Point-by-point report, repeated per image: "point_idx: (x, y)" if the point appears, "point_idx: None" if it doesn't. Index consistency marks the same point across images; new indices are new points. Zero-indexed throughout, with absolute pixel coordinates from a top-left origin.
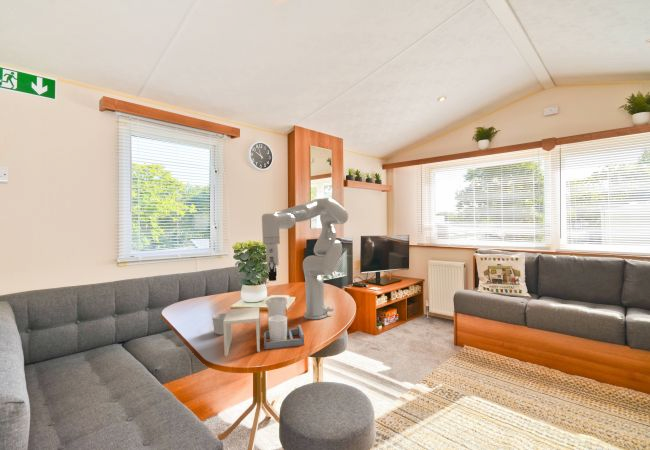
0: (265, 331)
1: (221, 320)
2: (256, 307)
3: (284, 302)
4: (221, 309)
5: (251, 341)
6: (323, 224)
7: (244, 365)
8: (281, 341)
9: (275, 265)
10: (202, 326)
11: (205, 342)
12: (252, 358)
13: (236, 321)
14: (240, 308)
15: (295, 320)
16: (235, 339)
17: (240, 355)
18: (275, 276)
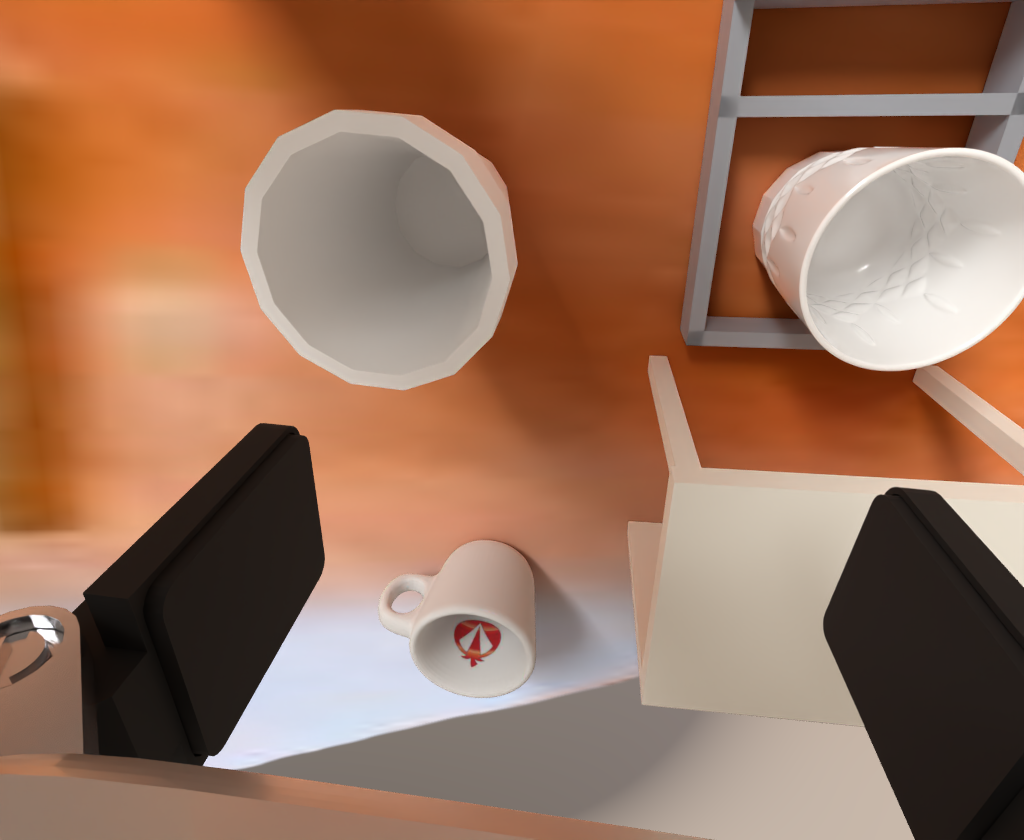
0: (688, 334)
1: (535, 644)
2: (692, 508)
3: (467, 153)
4: (39, 582)
5: (711, 413)
6: None
7: None
8: None
9: (87, 732)
10: (355, 654)
11: (615, 632)
12: (1013, 411)
13: None
14: (657, 630)
15: (317, 6)
16: (631, 502)
17: (915, 475)
18: (995, 578)
